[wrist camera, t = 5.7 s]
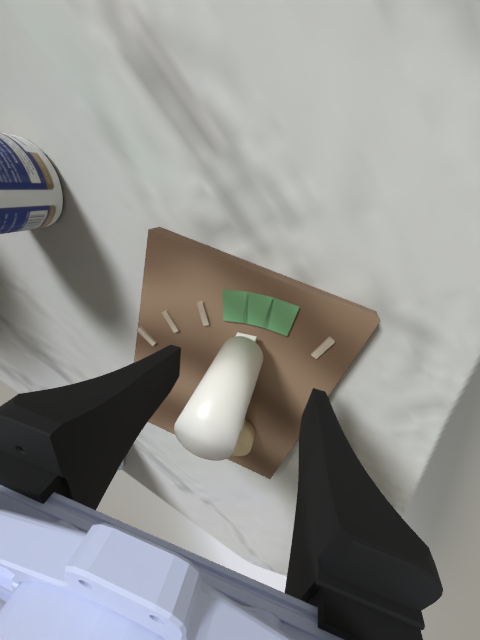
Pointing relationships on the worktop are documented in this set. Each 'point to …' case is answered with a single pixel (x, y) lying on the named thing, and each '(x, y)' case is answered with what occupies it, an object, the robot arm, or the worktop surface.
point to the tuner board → (252, 319)
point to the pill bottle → (27, 186)
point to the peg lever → (222, 403)
